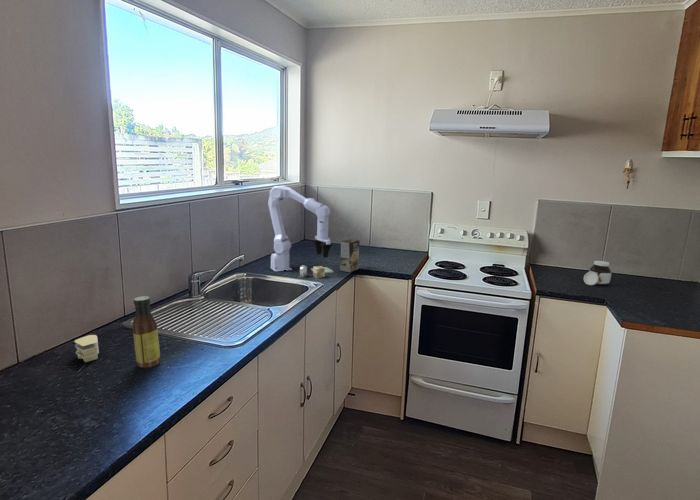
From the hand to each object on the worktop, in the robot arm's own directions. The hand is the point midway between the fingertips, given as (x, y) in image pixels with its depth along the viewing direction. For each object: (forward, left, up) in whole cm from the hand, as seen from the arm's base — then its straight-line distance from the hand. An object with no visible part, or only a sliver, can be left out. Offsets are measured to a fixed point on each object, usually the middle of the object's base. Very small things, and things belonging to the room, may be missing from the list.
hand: (322, 255), depth 223 cm
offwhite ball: (-8, +6, -8) cm, 13 cm away
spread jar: (+124, -69, -10) cm, 142 cm away
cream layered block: (-102, -59, -10) cm, 118 cm away
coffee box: (+17, +2, -10) cm, 20 cm away
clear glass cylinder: (-11, -1, -10) cm, 15 cm away
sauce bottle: (-87, -70, -10) cm, 112 cm away
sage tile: (+2, +4, -10) cm, 11 cm away
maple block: (-4, -5, -10) cm, 12 cm away
